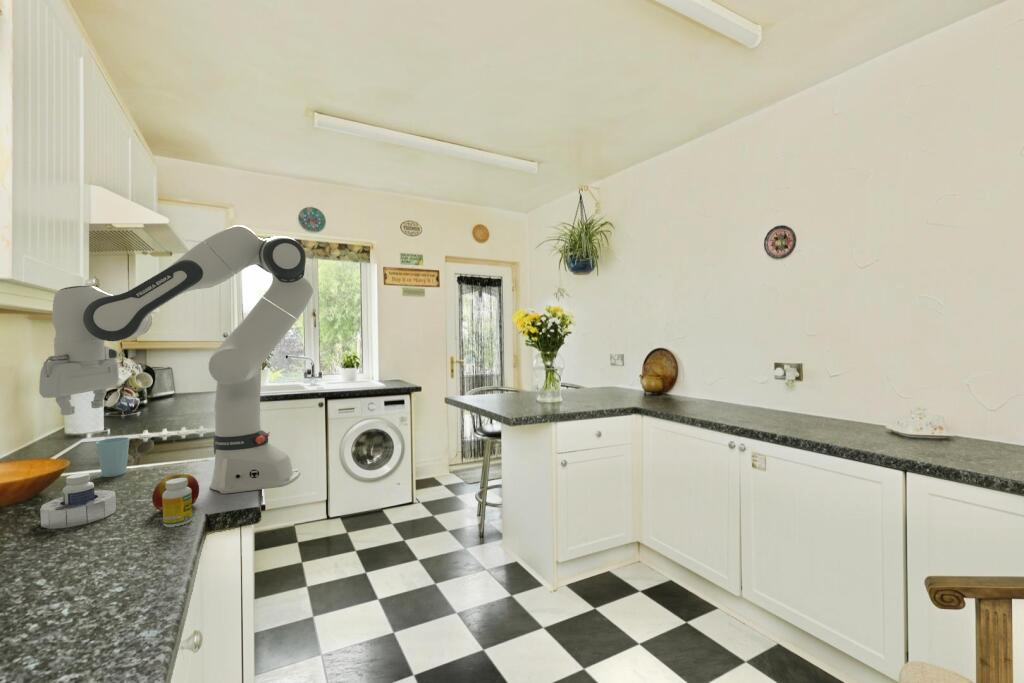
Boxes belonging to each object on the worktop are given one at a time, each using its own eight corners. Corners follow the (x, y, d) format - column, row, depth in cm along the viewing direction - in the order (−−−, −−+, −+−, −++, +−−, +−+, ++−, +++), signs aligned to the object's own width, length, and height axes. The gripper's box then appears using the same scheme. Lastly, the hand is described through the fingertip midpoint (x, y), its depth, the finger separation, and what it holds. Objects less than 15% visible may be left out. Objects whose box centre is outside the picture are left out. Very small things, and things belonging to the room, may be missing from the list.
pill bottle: (101, 512, 110) (99, 472, 110) (78, 522, 105) (76, 479, 104) (81, 511, 111) (79, 471, 110) (57, 521, 105) (55, 479, 105)
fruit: (183, 516, 107) (181, 482, 107) (142, 518, 106) (141, 483, 106) (208, 501, 116) (206, 469, 116) (170, 502, 116) (169, 470, 116)
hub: (128, 504, 115) (127, 487, 114) (90, 526, 102) (89, 506, 102) (71, 508, 113) (70, 491, 113) (25, 530, 100) (24, 511, 100)
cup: (123, 476, 138) (122, 441, 137) (92, 479, 135) (90, 444, 135) (135, 469, 145) (133, 436, 144) (105, 472, 142) (103, 438, 142)
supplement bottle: (169, 519, 105) (168, 477, 105) (196, 516, 107) (195, 475, 106) (158, 529, 100) (156, 485, 100) (187, 526, 101) (185, 482, 101)
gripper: (60, 355, 101) (64, 418, 101) (123, 351, 121) (125, 403, 122) (27, 356, 100) (31, 420, 100) (95, 352, 120) (98, 404, 120)
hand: (83, 411), depth 111 cm, fingers open, 8 cm apart
